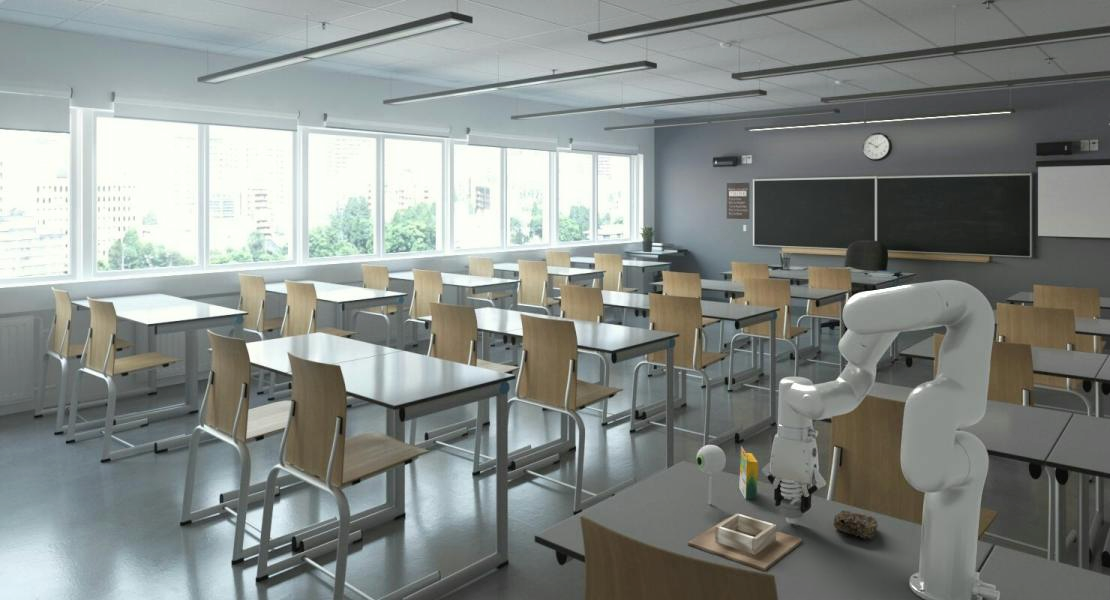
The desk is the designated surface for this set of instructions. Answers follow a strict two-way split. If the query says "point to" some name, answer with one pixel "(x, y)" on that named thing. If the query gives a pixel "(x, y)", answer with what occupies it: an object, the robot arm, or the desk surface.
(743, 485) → the crayon box
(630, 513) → the desk surface
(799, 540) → the wooden box on board
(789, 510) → the light bulb
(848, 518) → the concrete sample
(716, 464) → the lollipop
